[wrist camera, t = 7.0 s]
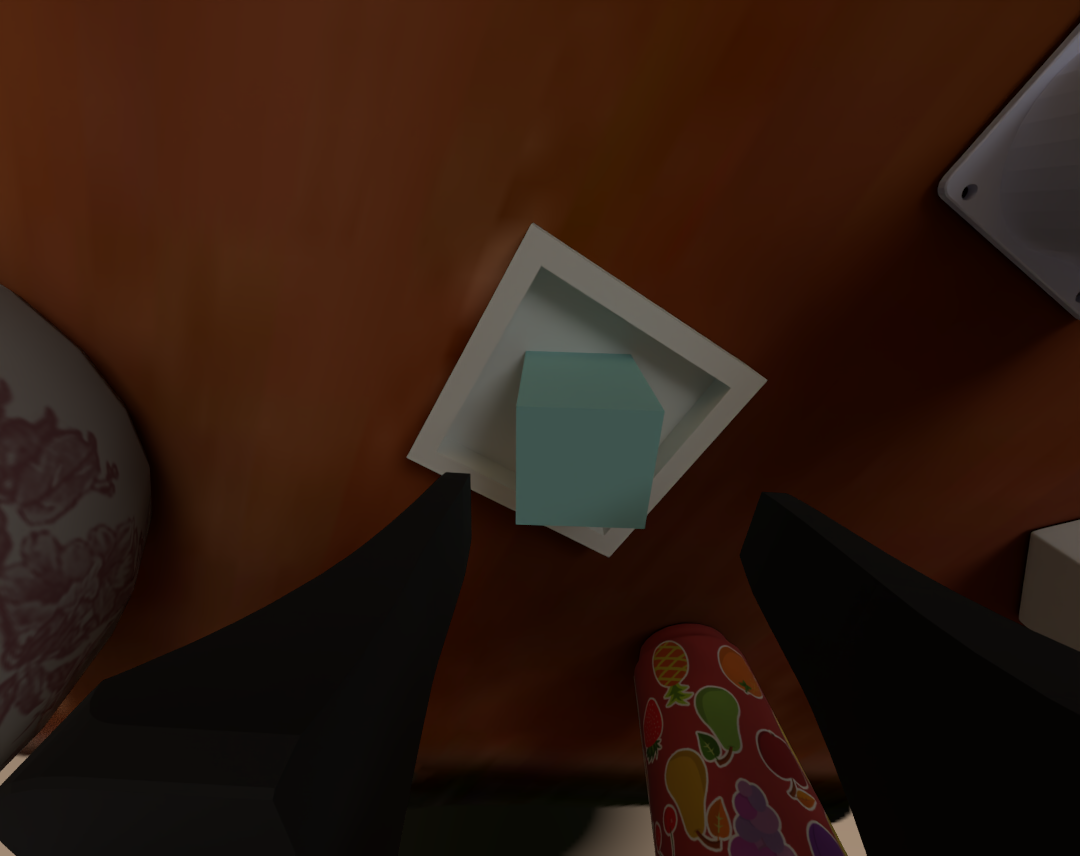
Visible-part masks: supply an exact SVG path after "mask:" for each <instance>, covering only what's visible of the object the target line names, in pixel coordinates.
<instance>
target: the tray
mask: <svg viewBox="0 0 1080 856" xmlns="http://www.w3.org/2000/svg"><path fill="white" fill-rule="evenodd" d="M526 351H547V352H578V353H609V354H631V355H632V357H633V359H634V361H635V362H636V364H637V366H638V367H639V369H640V371H641V372H642V374H643V376H644V377H645V379H646V381H647V382H648V384H649V386H650V387H651V389H652V391H653V392H654V394H655V396H656V397H657V399H658V401H659V402H660V404H661V406H662V407H663V409H664V411H665V412H664V418H663V424H662V430H661V436H660V442H659V447H658V453H657V459H656V465H655V471H654V477H653V482H652V488H651V494H650V500H649V506H648V511H647V515H648V513H649V512H650V511H651V510H652V509H653V508H654V507H655V506H656V504H657V503H658V502H659V501H660V500H661V499H662V498H663V497H664V496H665V494H666V493H667V492H668V491H669V490H670V489H671V488H672V487H673V485H674V484H675V483H676V482H677V481H678V480H679V479H680V478H681V476H682V475H683V474H684V473H685V472H686V471H687V470H688V469H689V468H690V466H691V465H692V464H693V463H694V462H695V461H696V460H697V459H698V457H699V456H700V455H701V454H702V453H703V452H704V451H705V450H706V449H707V447H708V446H709V445H710V444H711V443H712V442H713V441H714V440H715V438H716V437H717V436H718V435H719V434H720V433H721V432H722V431H723V430H724V428H725V427H726V426H727V425H728V424H729V423H730V422H731V421H732V419H733V418H734V417H735V416H736V415H737V414H738V413H739V412H740V411H741V409H742V408H743V407H744V406H745V405H746V404H747V403H748V402H749V400H750V399H751V398H752V397H753V396H754V395H755V394H756V393H757V392H758V390H759V389H760V388H761V387H762V386H763V385H764V384H765V383H766V381H767V380H766V379H765V378H764V377H762V376H761V375H760V374H758V373H757V372H756V371H754V370H753V369H752V368H750V367H749V366H748V365H746V364H745V363H743V362H742V361H740V360H739V359H737V358H736V357H734V356H733V355H731V354H730V353H728V352H727V351H725V350H724V349H722V348H721V347H719V346H718V345H716V344H715V343H713V342H712V341H710V340H709V339H707V338H706V337H704V336H703V335H701V334H700V333H698V332H697V331H695V330H694V329H692V328H691V327H689V326H688V325H686V324H685V323H683V322H682V321H680V320H679V319H677V318H676V317H674V316H673V315H671V314H670V313H668V312H667V311H665V310H664V309H662V308H661V307H659V306H658V305H656V304H655V303H653V302H652V301H650V300H649V299H647V298H646V297H644V296H643V295H641V294H640V293H638V292H637V291H635V290H634V289H632V288H631V287H629V286H628V285H626V284H625V283H623V282H622V281H620V280H619V279H617V278H616V277H614V276H613V275H611V274H610V273H608V272H607V271H605V270H604V269H602V268H600V267H599V266H597V265H596V264H594V263H593V262H591V261H590V260H588V259H587V258H585V257H584V256H582V255H581V254H579V253H578V252H576V251H575V250H573V249H572V248H570V247H569V246H567V245H566V244H564V243H563V242H561V241H560V240H558V239H557V238H555V237H554V236H552V235H551V234H549V233H548V232H546V231H545V230H543V229H542V228H540V227H539V226H537V225H536V224H534V223H532V224H531V226H530V228H529V229H528V231H527V233H526V235H525V237H524V239H523V241H522V243H521V244H520V246H519V248H518V250H517V252H516V254H515V256H514V257H513V259H512V261H511V263H510V265H509V267H508V269H507V271H506V272H505V274H504V276H503V278H502V280H501V282H500V284H499V286H498V287H497V289H496V291H495V293H494V295H493V297H492V299H491V301H490V302H489V304H488V306H487V308H486V310H485V312H484V314H483V316H482V317H481V319H480V321H479V323H478V325H477V327H476V329H475V330H474V332H473V334H472V336H471V338H470V340H469V342H468V344H467V345H466V347H465V349H464V351H463V353H462V355H461V357H460V359H459V360H458V362H457V364H456V366H455V368H454V370H453V372H452V374H451V375H450V377H449V379H448V381H447V383H446V385H445V387H444V388H443V390H442V392H441V394H440V396H439V398H438V400H437V402H436V403H435V405H434V407H433V409H432V411H431V413H430V415H429V417H428V418H427V420H426V422H425V424H424V426H423V428H422V430H421V432H420V433H419V435H418V437H417V439H416V441H415V443H414V445H413V447H412V448H411V450H410V452H409V454H408V456H407V458H408V459H410V460H412V461H414V462H416V463H418V464H420V465H422V466H424V467H426V468H428V469H430V470H432V471H434V472H436V473H439V474H441V475H443V474H444V473H445V472H453V473H469V474H470V475H471V490H473V491H475V492H477V493H479V494H481V495H483V496H485V497H487V498H489V499H491V500H493V501H495V502H497V503H499V504H502V505H504V506H506V507H508V508H510V509H512V510H514V511H516V404H517V399H518V393H519V387H520V382H521V376H522V370H523V364H524V359H525V353H526ZM544 526H546V527H548V528H550V529H552V530H554V531H556V532H558V533H560V534H562V535H564V536H567V537H569V538H571V539H573V540H575V541H577V542H579V543H581V544H583V545H585V546H587V547H589V548H591V549H593V550H595V551H597V552H599V553H601V554H603V555H605V556H607V557H610V556H611V555H612V554H613V553H614V551H615V550H616V549H617V548H618V547H619V546H620V545H621V544H622V542H623V541H624V540H625V539H626V538H627V537H628V536H629V535H630V534H631V532H632V531H633V530H634V529H635V528H606V527H576V526H547V525H544Z"/></svg>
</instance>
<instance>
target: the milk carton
mask: <svg viewBox="0 0 1080 856" xmlns="http://www.w3.org/2000/svg"><path fill="white" fill-rule="evenodd" d="M1019 620H1020V621H1021V622H1022V623H1023V624H1024V625H1025V626H1026V627H1028V628H1029V629H1031V630H1033V631H1035V632H1037V633H1039V634H1042V635H1044V636H1046V637H1048V638H1051V639H1053V640H1055V641H1057V642H1060V643H1062V644H1064V645H1066V646H1069V647H1071V648H1073V649H1075V650H1077V651H1080V520H1076V521H1072V522H1068V523H1064V524H1060V525H1055V526H1051V527H1047V528H1043V529H1039V530H1036V531H1033V532H1031V536H1030V542H1029V549H1028V555H1027V562H1026V569H1025V576H1024V583H1023V590H1022V597H1021V604H1020V611H1019Z"/></svg>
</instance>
